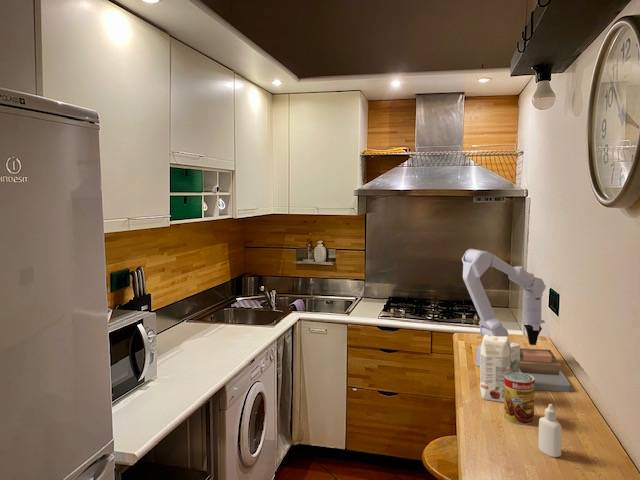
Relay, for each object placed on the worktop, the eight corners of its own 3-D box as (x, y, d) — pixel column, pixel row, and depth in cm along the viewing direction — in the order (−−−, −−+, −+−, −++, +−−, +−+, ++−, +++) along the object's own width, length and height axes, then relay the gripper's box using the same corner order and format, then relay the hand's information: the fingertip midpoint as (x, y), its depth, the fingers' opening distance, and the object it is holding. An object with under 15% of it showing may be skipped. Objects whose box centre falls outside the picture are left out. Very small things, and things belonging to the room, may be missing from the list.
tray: (571, 392, 158) (571, 385, 158) (524, 388, 162) (524, 382, 161) (560, 376, 172) (561, 370, 172) (517, 373, 175) (517, 368, 175)
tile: (551, 362, 175) (551, 356, 175) (524, 360, 177) (524, 355, 177) (547, 356, 181) (548, 351, 181) (521, 355, 183) (521, 349, 183)
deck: (560, 376, 172) (561, 365, 172) (517, 373, 175) (517, 362, 175) (549, 360, 189) (550, 349, 189) (510, 357, 193) (510, 347, 192)
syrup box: (503, 382, 168) (504, 339, 167) (519, 387, 163) (520, 343, 162) (493, 386, 164) (494, 342, 163) (509, 391, 160) (510, 347, 159)
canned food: (518, 426, 135) (518, 383, 134) (497, 415, 142) (498, 374, 141) (540, 421, 138) (541, 379, 137) (519, 410, 145) (519, 370, 144)
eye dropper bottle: (555, 447, 124) (556, 400, 123) (562, 458, 118) (563, 409, 117) (537, 445, 125) (538, 399, 124) (542, 457, 119) (543, 408, 118)
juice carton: (508, 404, 150) (509, 342, 148) (479, 399, 153) (479, 339, 152) (510, 395, 157) (511, 335, 155) (482, 391, 160) (482, 333, 159)
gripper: (548, 313, 177) (548, 350, 179) (540, 304, 191) (540, 339, 193) (527, 312, 179) (527, 349, 180) (521, 304, 193) (520, 338, 194)
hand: (532, 344), depth 187 cm, fingers closed
